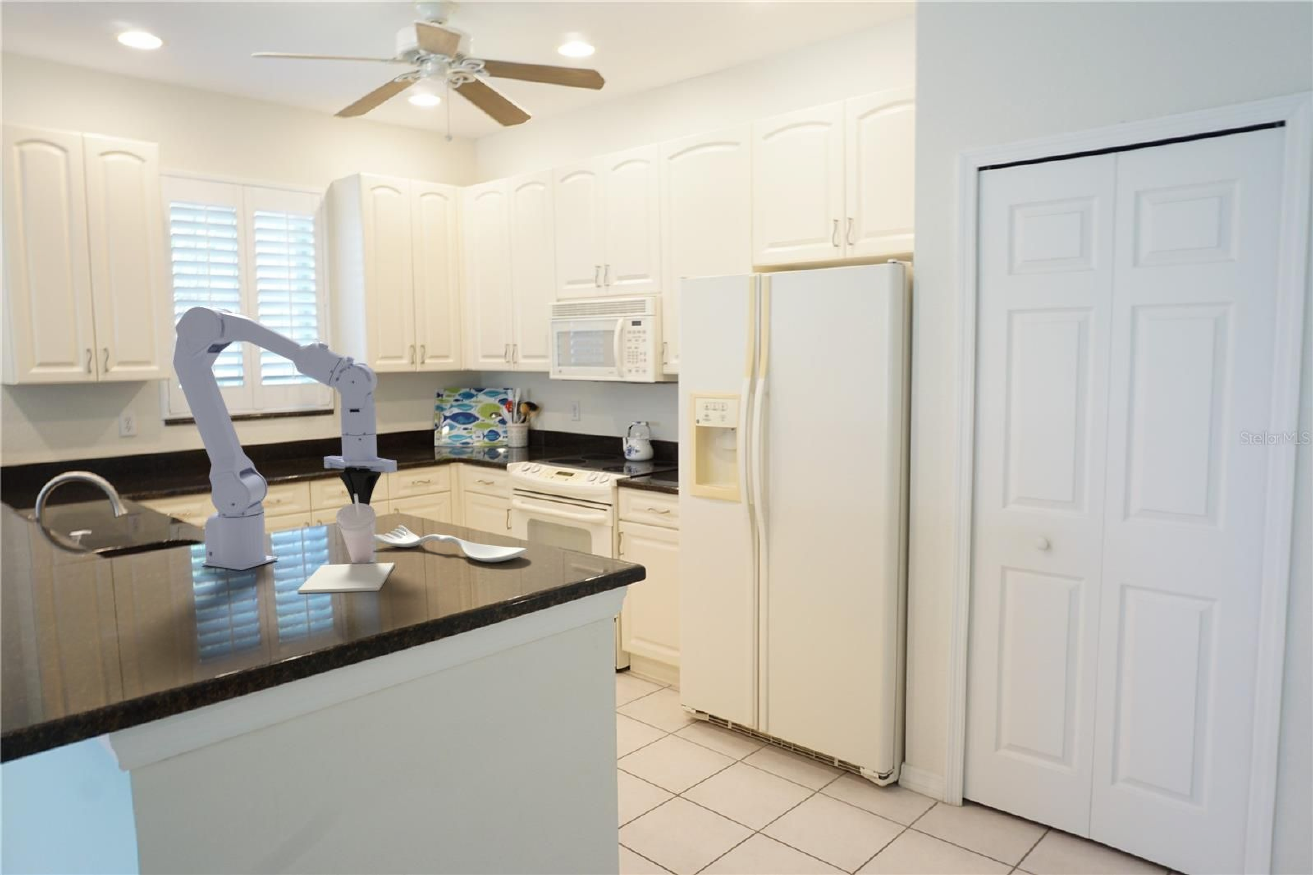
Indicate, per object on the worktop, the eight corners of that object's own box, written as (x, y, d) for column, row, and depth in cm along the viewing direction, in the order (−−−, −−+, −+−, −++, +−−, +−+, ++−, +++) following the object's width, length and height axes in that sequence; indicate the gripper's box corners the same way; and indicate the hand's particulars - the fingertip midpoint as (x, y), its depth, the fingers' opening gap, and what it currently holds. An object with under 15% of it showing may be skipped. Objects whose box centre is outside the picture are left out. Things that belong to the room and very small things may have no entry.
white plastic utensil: (400, 540, 168) (399, 523, 168) (536, 559, 154) (535, 540, 154) (365, 550, 160) (365, 532, 160) (505, 571, 146) (505, 551, 146)
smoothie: (374, 571, 148) (365, 508, 140) (337, 568, 148) (326, 504, 140) (385, 546, 153) (377, 484, 145) (349, 543, 153) (339, 481, 145)
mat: (321, 567, 146) (321, 565, 146) (394, 565, 148) (394, 562, 148) (297, 593, 132) (297, 590, 132) (378, 590, 133) (378, 587, 133)
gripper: (309, 434, 148) (312, 511, 150) (375, 438, 142) (378, 518, 144) (339, 430, 155) (342, 504, 156) (404, 434, 149) (406, 511, 150)
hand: (361, 510), depth 150 cm, fingers closed
